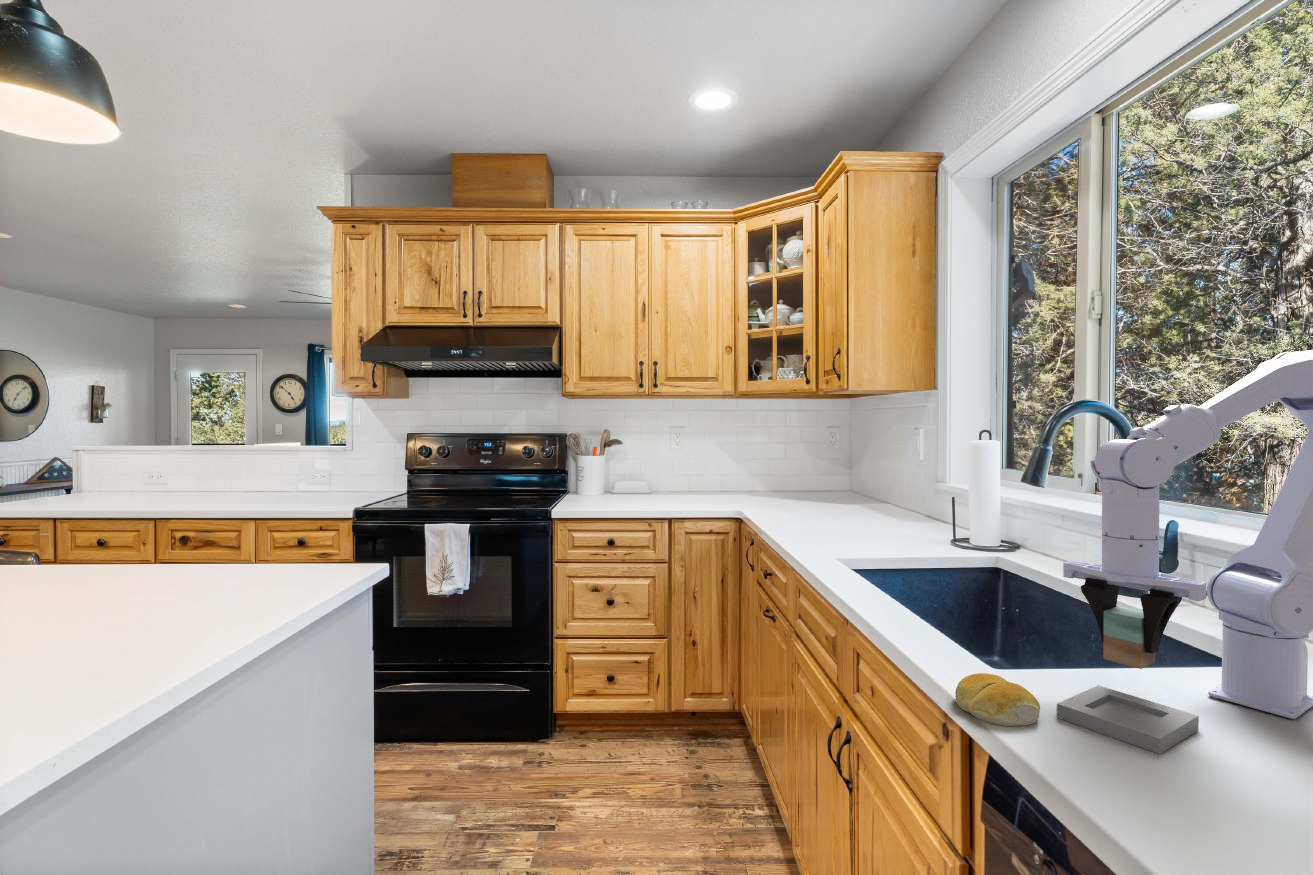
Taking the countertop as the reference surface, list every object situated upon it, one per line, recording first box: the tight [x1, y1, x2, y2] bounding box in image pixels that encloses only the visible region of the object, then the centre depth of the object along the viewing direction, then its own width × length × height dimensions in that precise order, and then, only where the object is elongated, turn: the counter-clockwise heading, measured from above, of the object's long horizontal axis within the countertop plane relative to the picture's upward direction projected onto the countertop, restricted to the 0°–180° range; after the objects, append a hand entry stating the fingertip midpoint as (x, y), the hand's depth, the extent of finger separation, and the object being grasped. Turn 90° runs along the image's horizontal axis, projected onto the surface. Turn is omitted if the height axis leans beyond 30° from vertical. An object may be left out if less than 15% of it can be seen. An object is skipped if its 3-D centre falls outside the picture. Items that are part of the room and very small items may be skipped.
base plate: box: [1056, 685, 1200, 755], centre depth 73 cm, size 10×10×2 cm
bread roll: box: [955, 672, 1041, 727], centre depth 77 cm, size 8×9×4 cm
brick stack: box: [1102, 605, 1156, 670], centre depth 80 cm, size 4×4×6 cm
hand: (1129, 645), depth 80 cm, fingers closed on brick stack, 4 cm apart
